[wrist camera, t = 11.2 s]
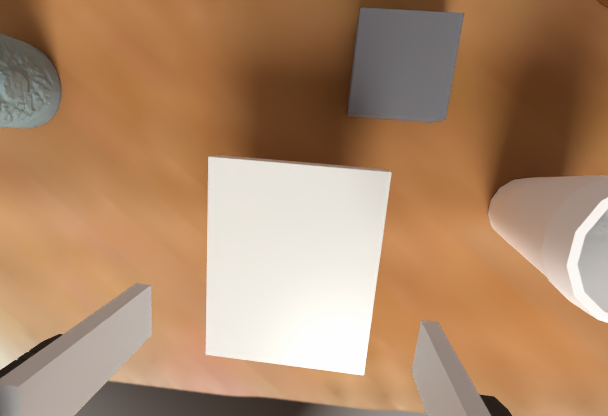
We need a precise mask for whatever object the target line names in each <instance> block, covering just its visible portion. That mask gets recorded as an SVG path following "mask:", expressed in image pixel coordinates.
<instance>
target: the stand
mask: <svg viewBox="0 0 608 416" xmlns="http://www.w3.org/2000/svg"><path fill="white" fill-rule="evenodd" d="M463 17H464V13H453V12H435V11H417V10H399V9H381V8H363V7H360V12H359V17H358V22H357V27H356V36H355V46H354V55H353V64H352V73H351V82H350V92H349V101H348V110H347V116H352V117H364V118H377V119H389V120H402V121H414V122H427V123H432V122H437V121H442V120H446V115H447V109H448V104H449V98H450V92H451V86H452V81H453V75H454V69H455V63H456V57H457V52H458V46H459V40H460V34H461V29H462V23H463Z"/></svg>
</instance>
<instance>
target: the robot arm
mask: <svg viewBox="0 0 608 416" xmlns="http://www.w3.org/2000/svg"><path fill="white" fill-rule="evenodd" d="M151 335H152V311H151V285H145V284H138V283H136V284H135V285H133V286H132V287H130V288H129V289H128V290H126V291H125V292H123V293H122V294H120V295H119V296H118V297H116V298H115V299H113V300H112V301H110V302H109V303H108V304H106V305H105V306H103V307H102V308H100V309H99V310H98V311H96V312H95V313H93V314H92V315H90V316H89V317H88V318H86V319H85V320H83V321H82V322H80V323H79V324H78V325H76V326H75V327H73V328H72V329H70V330H69V331H68V332H66V333H65V334H58V335H56V336H54V337H52V338H49V339H47V340H45V341H43V342H41V343H40V344H38V345H37V346H35V347H34V348H32V349H31V350H29V352H26V353H25V354H23V355H22V356H20V357H19V358H18V360H15V361H13V362H12V363H10V364H9V365H7V366H6V367H4V368H3V369H1V370H0V416H74V415H75V414H76V413H77V412H78V411H79V410H80V408H82V407H83V406H84V404H86V403H87V401H88V400H89V399H90V398H91V397H92V396H93V395H94V394H95V393H96V392H97V391H98V390H99V389H100V388H101V387H102V386H103V385H104V384H105V383H106V382H107V381H108V380H109V379H110V378H111V377H112V376H113V375H114V374H115V372H116V371H117V370H118V369H119V368H120V367H121V366H122V365H123V364H124V363H125V362H126V361H127V360H128V359H129V358H130V357H131V356H132V355H133V354H134V353H135V352H136V351H137V350H138V349H139V348H140V347H141V345H142V344H143V343H144V342H145V341H146V340H147V339H148V338H149V337H150V336H151ZM412 374H413V377H414V380H415V383H416V386H417V389H418V392H419V395H420V398H421V401H422V404H423V407H424V410H425V413H426V416H512V415H511V414H510V412H509V410H508V409H507V408H506V407H505V406H504V405H503V404H501V403H500V402H499V401H498V400H497V399H496V398H495V397H493V396H486V395H479V393H478V392H477V390H476V388H475V386H474V385H473V383H472V381H471V379H470V378H469V376H468V374H467V372H466V370H465V369H464V367H463V365H462V363H461V362H460V360H459V358H458V356H457V355H456V353H455V351H454V349H453V348H452V346H451V344H450V342H449V341H448V339H447V337H446V335H445V333H444V332H443V330H442V328H441V326H440V325H439V323H438V322H431V321H423V320H421V324H420V330H419V335H418V341H417V346H416V352H415V357H414V363H413V368H412Z"/></svg>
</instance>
